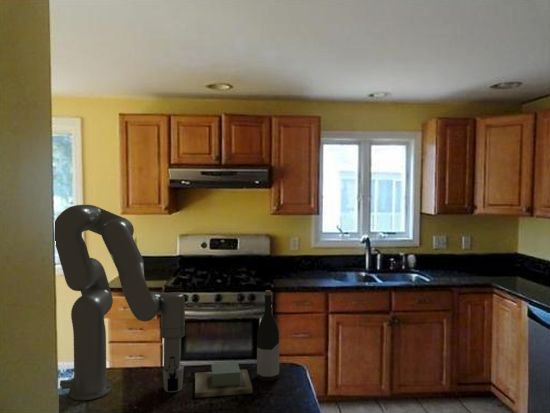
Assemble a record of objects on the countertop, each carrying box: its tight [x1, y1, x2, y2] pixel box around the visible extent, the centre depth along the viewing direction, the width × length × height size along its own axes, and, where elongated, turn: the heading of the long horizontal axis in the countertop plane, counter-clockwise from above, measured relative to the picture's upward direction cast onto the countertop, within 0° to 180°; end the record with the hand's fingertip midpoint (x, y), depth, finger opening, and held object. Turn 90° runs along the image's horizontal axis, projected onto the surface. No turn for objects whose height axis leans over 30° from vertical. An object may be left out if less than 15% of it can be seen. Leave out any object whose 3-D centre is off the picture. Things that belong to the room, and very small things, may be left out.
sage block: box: [211, 361, 241, 386], centre depth 145 cm, size 9×9×4 cm
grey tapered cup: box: [162, 363, 185, 393], centre depth 142 cm, size 7×7×7 cm
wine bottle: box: [256, 289, 280, 382], centre depth 152 cm, size 8×8×30 cm
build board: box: [194, 368, 253, 398], centre depth 145 cm, size 18×16×2 cm
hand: (173, 385), depth 142 cm, fingers closed on grey tapered cup, 5 cm apart
